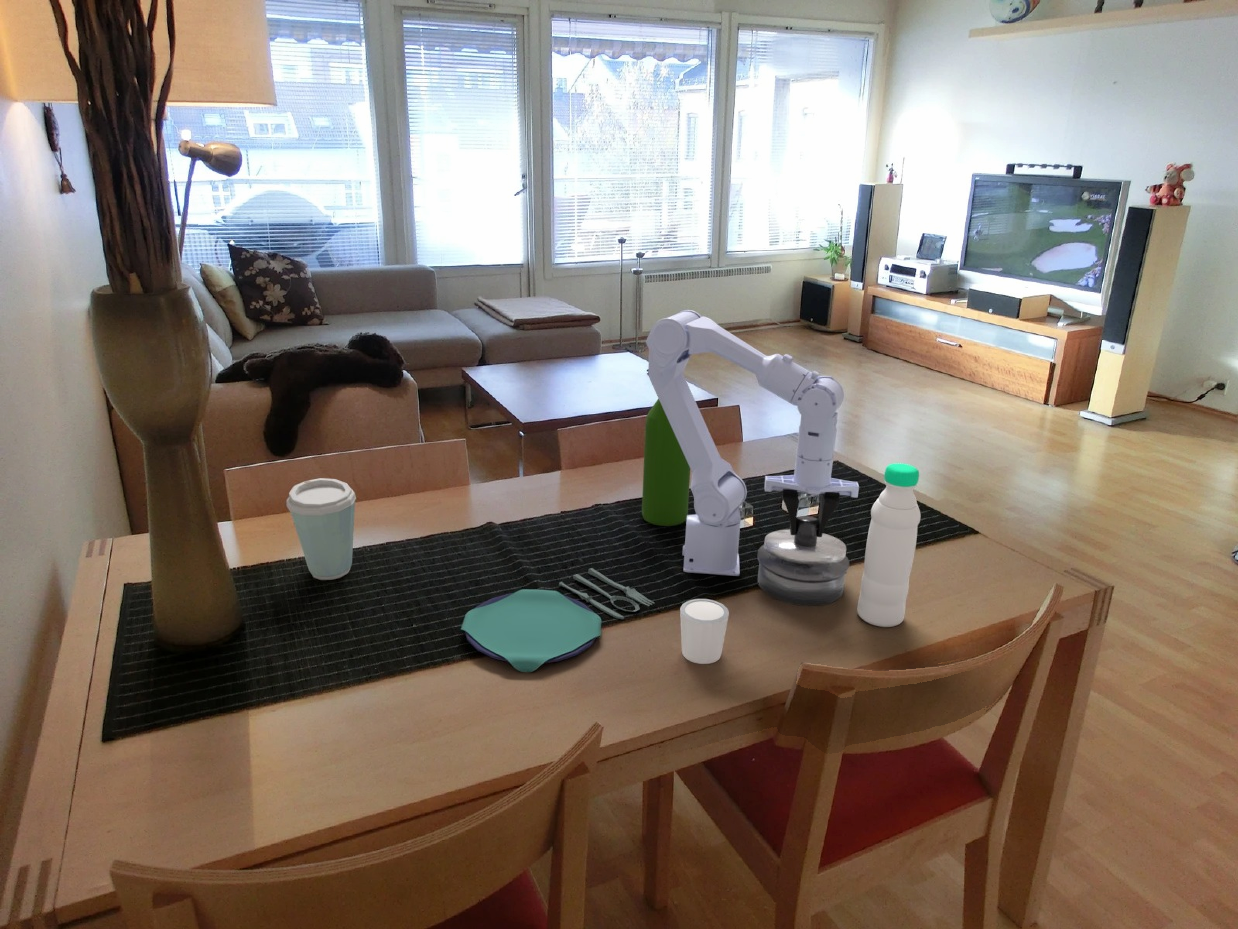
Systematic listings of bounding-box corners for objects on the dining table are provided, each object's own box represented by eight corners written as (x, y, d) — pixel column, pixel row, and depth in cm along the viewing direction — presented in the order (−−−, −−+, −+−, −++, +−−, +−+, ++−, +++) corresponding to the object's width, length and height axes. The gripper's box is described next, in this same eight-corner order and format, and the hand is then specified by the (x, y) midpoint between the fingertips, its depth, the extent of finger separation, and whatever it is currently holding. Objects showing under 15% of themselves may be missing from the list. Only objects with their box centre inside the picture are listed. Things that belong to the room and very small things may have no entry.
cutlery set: (436, 631, 126) (436, 617, 125) (585, 570, 146) (586, 558, 146) (521, 692, 113) (522, 677, 112) (672, 616, 134) (673, 603, 133)
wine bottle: (695, 514, 168) (705, 352, 157) (673, 530, 161) (682, 361, 150) (656, 504, 173) (663, 345, 161) (633, 518, 166) (639, 354, 154)
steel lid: (765, 560, 134) (767, 529, 133) (763, 533, 146) (766, 504, 145) (849, 568, 132) (853, 536, 131) (841, 539, 145) (844, 510, 143)
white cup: (712, 672, 118) (715, 628, 116) (668, 656, 121) (671, 613, 119) (733, 649, 124) (737, 606, 121) (691, 635, 127) (693, 593, 124)
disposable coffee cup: (375, 572, 142) (368, 488, 137) (315, 594, 135) (305, 507, 130) (341, 551, 149) (333, 471, 144) (282, 571, 142) (272, 488, 137)
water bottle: (878, 633, 129) (902, 478, 120) (846, 611, 135) (867, 462, 126) (913, 622, 132) (939, 471, 123) (880, 602, 138) (902, 456, 129)
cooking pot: (757, 603, 136) (759, 575, 135) (753, 561, 150) (755, 535, 148) (851, 610, 135) (855, 582, 133) (839, 567, 149) (842, 541, 147)
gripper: (769, 460, 131) (761, 540, 136) (865, 466, 130) (854, 547, 135) (767, 445, 138) (759, 522, 143) (858, 451, 136) (848, 528, 141)
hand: (805, 533), depth 139 cm, fingers closed on steel lid, 4 cm apart
